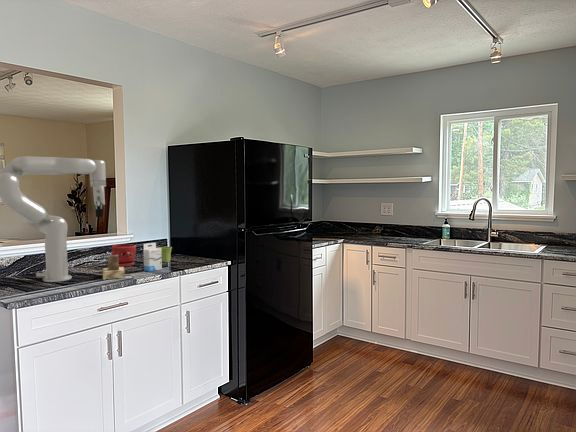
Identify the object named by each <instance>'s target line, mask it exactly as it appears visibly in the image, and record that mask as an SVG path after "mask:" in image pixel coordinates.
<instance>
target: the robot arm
mask: <svg viewBox="0 0 576 432" xmlns="http://www.w3.org/2000/svg"><path fill="white" fill-rule="evenodd" d="M106 173H107V172H106V162H105V160H101V159H90V158H81V157H80V158H79V157H60V156H59V157H57V156H56V157H55V156H33V155H32V156H31V155H26V156H19V157H15V158H14V159H12V160H11V161H10V162H9V163H7V164H6V165H5V166H4V167H3V168H1V169H0V201H2V203H3V204H4V205H5V207H7V208H9V209H10V210H11V211H13V212H15V213H16V214H17V216H18V218H19V220H20V221H21V222H23V223H25V224H26V225H28V226H30V227H32V228H33V229H35V230H36V231H38V232H40V233H41V234H42V233H43V234H44V235H45V237H44V250H45V251H44V252H45V271H43V272H36V273H35V277H36V278H42V281H43V282H46V283H57V282H58V283H59V282H65V281H69V280H71V279H72V275H70V274H69V266H68V265H69V264H68V246H67V243H68V242H67V237H68V227H69V226H68V223H67V221H66V220H65V219H64V218H63V217H61V216H58V215H51V214H49V213H48V212H47V210H46V209H45V208H44V206H42V205H40V204H39V203H37V202H35V201H34V200H32V199H31V198H29V197H28V196H26V195H25V194H24V193H23V192H22V191H21V188H20V180H21V179H22V178H23V176H25V175H48V176H49V175H52V176H53V175H54V176H55V175H56V176H57V175H66V174H68V175H69V174H78V175H89V179H90V181H89V182H90V187H92V189H93V190H92V193H93V194H92V195H93V203H94V206H95V217H96V218H103V216H104V210H103V206H104V205H106V199H105V195H106V194H105V187H107V180H106V179H107V178H106V177H107V175H106Z"/></svg>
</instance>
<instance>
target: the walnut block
mask: <svg viewBox="0 0 576 432" xmlns="http://www.w3.org/2000/svg"><path fill="white" fill-rule="evenodd" d="M107 268H108V271H110V270H119V257H118V255H112V254H109V255H108V254H107Z"/></svg>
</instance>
